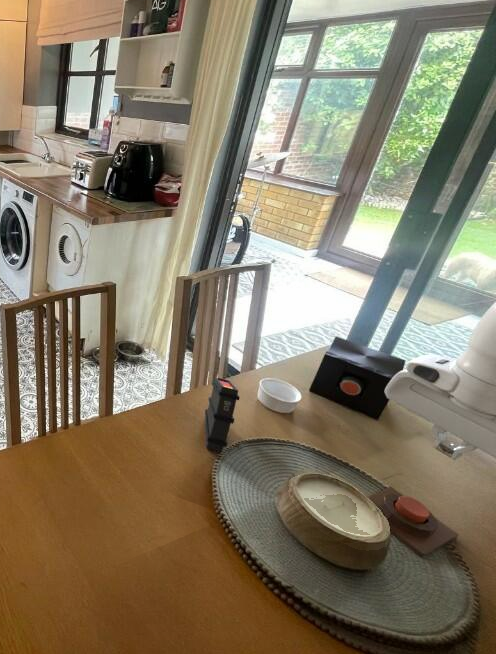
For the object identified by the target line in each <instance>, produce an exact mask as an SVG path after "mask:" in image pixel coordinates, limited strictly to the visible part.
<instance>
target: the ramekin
mask: <svg viewBox="0 0 496 654" xmlns="http://www.w3.org/2000/svg"><path fill="white" fill-rule="evenodd" d="M258 386H259V387H258V390H257V391H258V392H257V399H258V401H259V402H260V403H261V404H262V405H263V406H264V407H266V408H267V409H269V410H271V411H274V412H276V413H280V414H289V413H292V412H293V411H294V410H295V409H296V407H297V405H298V404H299V403H300V402H301V400H303V399H302V398H303V396H302V393H301V392H300V390H298V389H297V388H296V387H295V386H294V385H292V384H290V383H288V382H286V381H284V380H281V379H278V378H273V377H266V378H263V379H261V380H260V381H259V383H258Z"/></svg>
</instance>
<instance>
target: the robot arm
mask: <svg viewBox="0 0 496 654" xmlns="http://www.w3.org/2000/svg"><path fill="white" fill-rule="evenodd" d="M384 392H385V394H386V397H387V398H388V399H389V401H391V402H394V404H397V405H399V406H400V407H402V408H404V409H406V410H408V411H410V412H411V413H412V414H414V415H417V416H418V417H421V418H422V419H424V420H425V421H427V422H429V423H431V424H433V426H432V432H433V436H434V440H435V441H434V443H433V445H432V448H433V449H435V450H436V451H438V452H440V453H441V454H443V455H445V456H447V457H448V458H449V459H452V460H454V461H456V460H458V459H460V457H462V455H463V454H465V453H470V452H473V451H475V450H477V449H478V450H481V451H482V452H483V453H485V454H487V455H489V456H490V457H493V458H495V459H496V301H495V302H494V303H493V304H492V305H491V306H490V307H489V308H488V309H487V310H486V311H485V313H484V314H483V315H482V316H481V318H480V319H479V321H478V322H477V323H476V325H475V326H474V328H473V330H472V331H471V333H470V335H469V338H468V342H467V348H466V349H465V350H464V351H463V352H462V353H461V354H459V355H458V356H457V357H456V358H454V357H453V358H452V357H448V356H443V355H439V354H426V355H425V354H424V355H421V356H418V357H415V358H413V359H411V360H410V361H408V362H407V363H406V364H405V369H403V371H400V372H398V373H397V374H396V375H395V376H394V377H393V378H392V379H391V381H390V382H389V383H388V385H387V386H386V388H385V391H384ZM447 433H449V434H451V435H452V436H454V437H456V438H458V439H460V440H462V442H461V446H458V445H457V444H455V443H453V442H451V441H450V440H448V436H447Z"/></svg>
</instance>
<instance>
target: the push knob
mask: <svg viewBox="0 0 496 654" xmlns="http://www.w3.org/2000/svg"><path fill="white" fill-rule="evenodd" d="M340 387H341V389H342V391H344V392H345V393H347V394H349V395H357V394H359V393H360V392H361V389H362V387H363V383H362V382H361V380H360V379H358V378H356V377H353V376H347V377H345V378H343V380H342V382H341V384H340Z"/></svg>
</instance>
